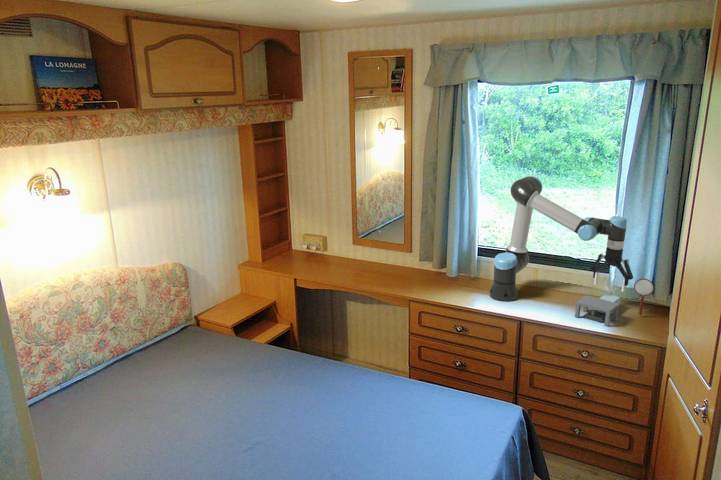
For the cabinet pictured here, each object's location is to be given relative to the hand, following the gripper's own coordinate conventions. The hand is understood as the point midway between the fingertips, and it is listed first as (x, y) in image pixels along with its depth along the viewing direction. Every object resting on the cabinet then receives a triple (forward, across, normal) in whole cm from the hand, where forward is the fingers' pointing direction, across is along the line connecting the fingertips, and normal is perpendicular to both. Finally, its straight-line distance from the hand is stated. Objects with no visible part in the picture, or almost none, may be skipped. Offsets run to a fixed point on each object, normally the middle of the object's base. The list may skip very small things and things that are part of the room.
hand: (609, 287), depth 267 cm
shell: (+12, +1, 0) cm, 12 cm away
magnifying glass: (+12, +16, +2) cm, 20 cm away
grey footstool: (+12, +1, -14) cm, 18 cm away
